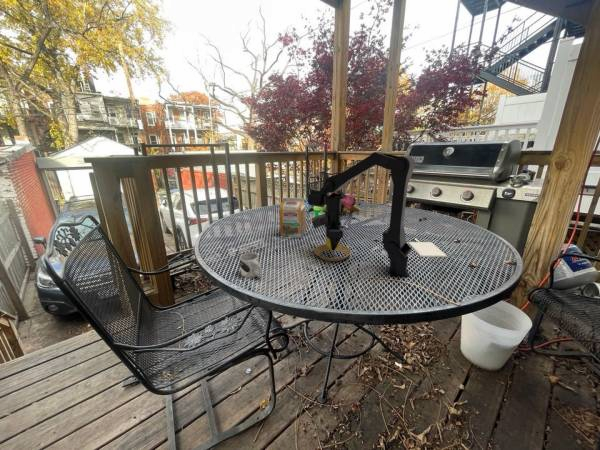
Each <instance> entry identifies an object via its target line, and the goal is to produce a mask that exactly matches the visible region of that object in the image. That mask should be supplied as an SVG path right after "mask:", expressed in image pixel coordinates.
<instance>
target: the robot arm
mask: <svg viewBox="0 0 600 450" xmlns="http://www.w3.org/2000/svg"><path fill="white" fill-rule="evenodd" d="M415 162H416V161H415V159H414V158H413V157H412V156H410V155H408V154H406V155H400V156H399V155H395V154H389V153H385V152H382V151H374V152H371V154H370V155H368V156H367V157H365V158H364V159H362V160H361V161H359V162H357V163H355V164H354V165H352V166H351V167H349V168H348V169H346V170H344V171H342V172H339V173H337V174H333V175H331V176H328V177H326V178H325V179H324V180H323V185H322V187H321V188H320V189H316V188H312V189H310V192H309V194H308V197H307V204H308V205H309V206H312V207H317V208H324V207H325V211H324V213H323V214H319V215H316V216H314V217H312V218H311V224H312V226H313V229H317V228H319V227H323V226H324V228H325V238H326V239H327V238H329V239H330V243H331V248H332V250H333V251H336V250H335V249H336V247H337V245H338V243H339V241H340V242H341V239H342V238H344V230H343V228H342V227H341V226H342V222H341V220H342V219H341V217H342V211H341V210H342V200H343V199H346V198H347V197H348V196H347V195H346V194H345V193H344V191H341V190H342V189H344V187H346V186H347V185H348V184H349V183H350V182H351V181H352V180H353V179H355V178H358V177H360V176H361V175H362V174H364V173H366V172H367V171H369V170H372V169H373V168H375V167H376V166H379V167H380V168H382V169H386V170H389V171H390V178H391V181H392V184H393V185H392V186H393V187H392V196H391V209H390V218H389V219H390V220H389V226H388V227H387V228H386V229H385V230H383V232H382V242H381V245H382V246H383V249H384V250H385V252H386V253H387V254H386V255H387V257H388V260H389V266H386V267H385V268H386V270H387V273H388V274H389V275H390V277H398V278H400V277H406V278H408V277H410V276H411V274H410V273H409V271H408V263H409V254H410V253H411V252H412V250H413V248H412V247H411V246H410V245H409V243H407V241H406V240H407V238H406V231H405V228H404V223H405V222H404V221H405V213H406V203H407V196H408V195H407V194H408V188H409V187H408V186H409V183H410V180H411V178H412V177H413V172H414V169H415V166H416V163H415ZM338 191H340V192H338ZM332 250H331V251H332Z"/></svg>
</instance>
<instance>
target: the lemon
mask: <svg viewBox="0 0 600 450" xmlns="http://www.w3.org/2000/svg"><path fill="white" fill-rule="evenodd" d="M325 244H327V247H328V248H329V249H331V250H330V251H332V252H333V251H334V250H332V248H331V243H330V239H329V238H327V237H326V240H325ZM339 245H341V240H340V241H339V243H338V245H337V247H336V249H337V248H338V247H339Z"/></svg>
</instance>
